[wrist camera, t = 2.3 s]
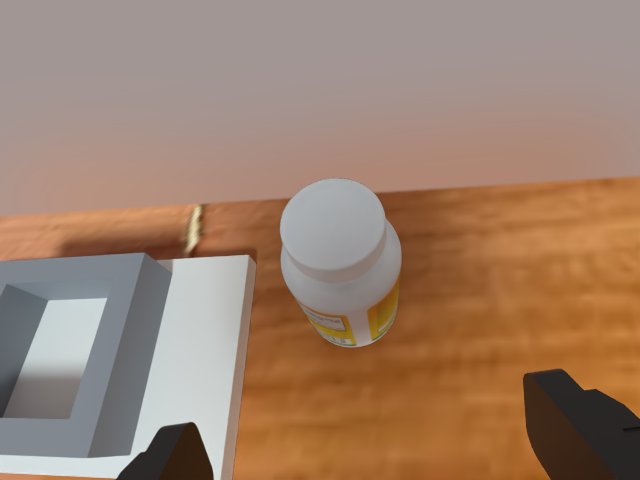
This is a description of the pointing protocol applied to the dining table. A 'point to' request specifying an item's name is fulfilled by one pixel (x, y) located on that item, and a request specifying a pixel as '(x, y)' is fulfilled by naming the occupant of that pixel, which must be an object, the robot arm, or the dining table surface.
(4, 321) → the collar board
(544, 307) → the dining table surface
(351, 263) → the supplement bottle
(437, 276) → the dining table surface
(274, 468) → the dining table surface
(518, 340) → the dining table surface
